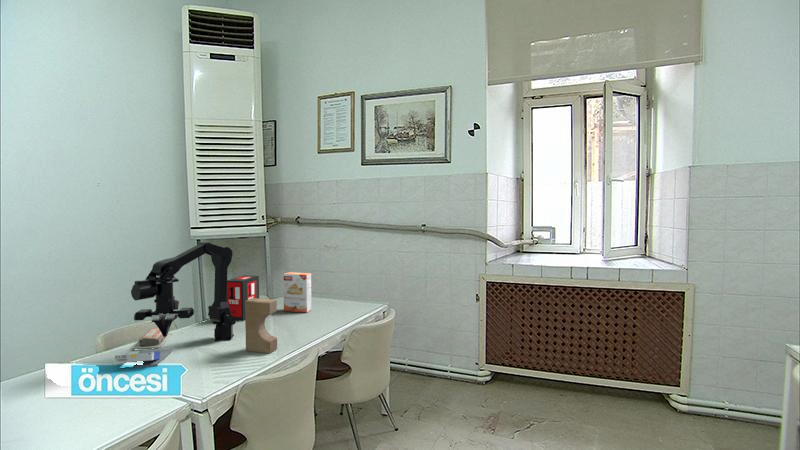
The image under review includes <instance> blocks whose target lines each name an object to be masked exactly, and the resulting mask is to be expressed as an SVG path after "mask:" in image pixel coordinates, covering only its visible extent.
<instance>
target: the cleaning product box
mask: <svg viewBox="0 0 800 450" xmlns="http://www.w3.org/2000/svg"><path fill="white" fill-rule="evenodd" d="M252 298H259V299H260V276H259V275H248V274H247V275H239V276H237V277H234V278H231V279H227V302H228V304H229V306H230V311H231V315H232V316H233V317H234V318H236V322H244V321H245V301H246V300H249V299H252Z"/></svg>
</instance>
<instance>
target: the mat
mask: <svg viewBox="0 0 800 450" xmlns="http://www.w3.org/2000/svg"><path fill="white" fill-rule="evenodd" d="M158 351H160V359H156V360H148V361H143V362H144V363H143V365H137V364H136V365H134V366H133V367H135V368H145V367H147V368H148V367H158V366H159V365H160V364H161V363H162V362H163V361H165V360H166V358H167V357H169V356H170V355H171V354H172V353H173V352H174V351H175V348H167V349H149V350H139V351H138V352H137V353H146V352H158ZM172 351H173V352H172ZM171 352H172V353H171ZM170 353H171V354H170ZM169 354H170V355H169ZM168 355H169V356H168ZM162 360H163V361H162ZM161 361H162V362H161ZM160 362H161V363H160ZM159 363H160V364H159ZM158 364H159V365H158ZM141 366H143V367H141Z"/></svg>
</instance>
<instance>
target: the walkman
mask: <svg viewBox="0 0 800 450" xmlns="http://www.w3.org/2000/svg"><path fill="white" fill-rule="evenodd" d="M156 359H160V351H158V352H146V353H138V352H136V353H127V354H126V353H124V354H117V355H114V364H124V363H126V362H137V361H148V360H156Z"/></svg>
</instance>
